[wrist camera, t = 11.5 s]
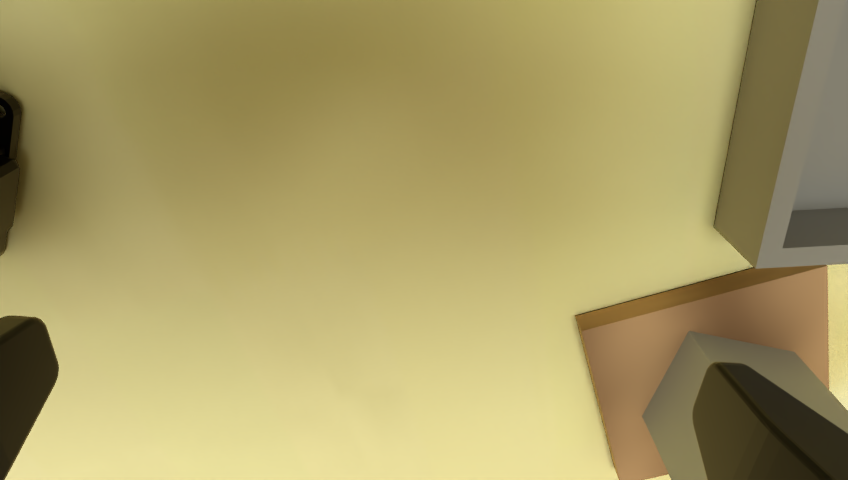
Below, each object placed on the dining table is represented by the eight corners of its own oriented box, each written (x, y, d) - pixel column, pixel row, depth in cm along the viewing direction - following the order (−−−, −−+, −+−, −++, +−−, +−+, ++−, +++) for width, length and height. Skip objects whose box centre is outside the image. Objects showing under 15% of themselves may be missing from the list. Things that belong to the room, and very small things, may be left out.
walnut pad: (614, 466, 27) (620, 484, 26) (575, 316, 23) (581, 331, 22) (815, 420, 26) (829, 437, 25) (810, 252, 22) (827, 266, 21)
